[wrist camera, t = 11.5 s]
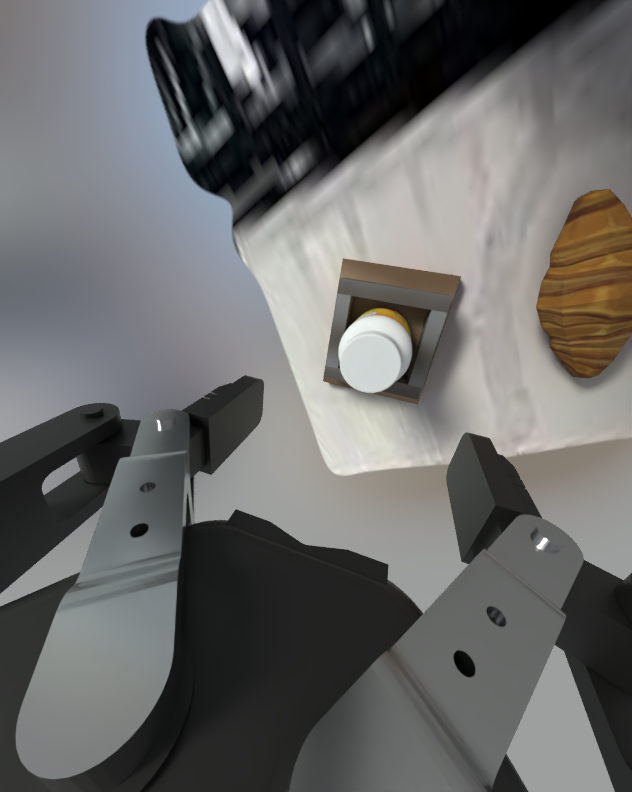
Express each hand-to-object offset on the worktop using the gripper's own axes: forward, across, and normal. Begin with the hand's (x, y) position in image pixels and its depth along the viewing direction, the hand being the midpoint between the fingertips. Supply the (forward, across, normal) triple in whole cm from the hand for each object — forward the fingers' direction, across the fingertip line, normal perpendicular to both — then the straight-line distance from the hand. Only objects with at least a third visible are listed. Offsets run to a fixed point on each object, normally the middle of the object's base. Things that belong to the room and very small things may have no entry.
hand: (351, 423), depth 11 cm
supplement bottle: (+18, 0, 0) cm, 18 cm away
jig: (+18, 0, 0) cm, 19 cm away
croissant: (+19, -14, -6) cm, 24 cm away
